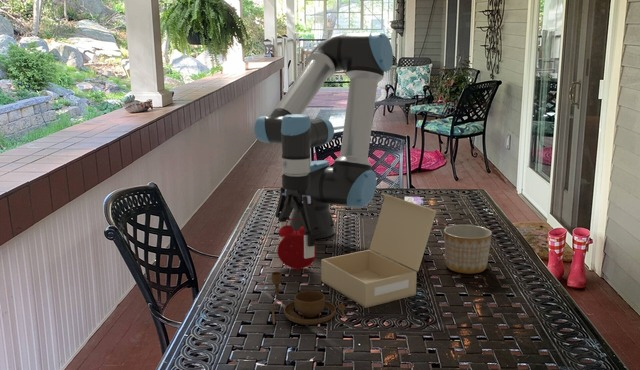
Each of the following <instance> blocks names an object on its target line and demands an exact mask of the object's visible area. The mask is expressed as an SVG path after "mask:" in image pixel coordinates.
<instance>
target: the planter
mask: <svg viewBox="0 0 640 370" xmlns="http://www.w3.org/2000/svg"><path fill="white" fill-rule="evenodd" d="M492 235H493V233H492V231H491V230H490V229H488V228H486V227H484V226H480V225H479V226H478V225H474V224H472V225H471V224H453V225H448V226H446V227H445V228H444V229H443V237H444V238H443V239H444V256H445V265H446V267H447V269H448V270H451V271H453V272H455V273H458V274H459V273H460V274H466V275H467V274H468V275H469V274H471V275H473V274H479V273H482V272H484V271H485V270H486V269H487V267H488V263H489V261H488V260H489V254H490V248H491V243H492V241H491V240H492Z"/></svg>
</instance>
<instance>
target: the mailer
mask: <svg viewBox="0 0 640 370" xmlns="http://www.w3.org/2000/svg"><path fill="white" fill-rule="evenodd" d="M320 270H321V272H320V273H321V277H320V278H321V282H322V283H323V284H324V285H327V286H328V287H330V288H331V289H333V290H335V291H336V292H338V293H340V294H341V295H344V296H345V297H347V298H349V299H350V300H352V301H353V302H355V303H356V304H358V305H360V306H362V307H363V308H364V309H367V308H370V307H375V306H379V305H383V304H386V303H390V302H395V301H398V300H401V299H405V298H411V297H414V296H417V272H418V271H416V270H413V269H411V268H409V267H407V266H405V265H403V264H401V263H398V262H396V261H394V260H392V259H390V258H388V257H386V256H383V255H381V254H379V253H377V252H375V251H373V250H371V249H366V250H361V251H355V252H351V253H347V254H342V255H338V256H337V255H335V256H332V257H326V258H322V259H321V269H320Z"/></svg>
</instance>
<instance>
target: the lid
mask: <svg viewBox="0 0 640 370" xmlns="http://www.w3.org/2000/svg"><path fill="white" fill-rule="evenodd" d="M380 195H381V196H384V198H383V201H382V202H383V203H382V205H381V209H380V212H379V215H378V219H377V222H376V225H375V229H374V232H373V235H372V239H371V241H370V246H369V249H368V250H371V251H373V252H375V253H378V254H380V255H382V256H384V257H386V258H388V259H390V260H392V261H395V262H397V263H399V264H401V265H403V266H405V267H407V268H410V269H412V270H414V271H416V272H419V271H420V268H421V264H422V260H423V257H424V253H425V251H426V248H427V244H428V241H429V237H430V234H431V230H432V227H433V225H434V220H435V219H436V217H435V216H436V215H437V210H435V209H432V208H430V207H426V206H424V205H423V206H421V205H417V204H414V203H411V202H408V201H405V200H404V199H402V198H399V197H396V196H394V195H390V194H387V193H384V192H381V194H380Z"/></svg>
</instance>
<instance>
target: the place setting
mask: <svg viewBox="0 0 640 370" xmlns="http://www.w3.org/2000/svg"><path fill="white" fill-rule="evenodd" d="M282 275H283V274H282V272H280V271H274V272H271V282H272V284H273V285H274V287H275V288H274V292H275V293H274V295H275V296H274V295H273V294H271V297H272V298H273V299H276V296H279V295H280V293H279V291H280V288H279V285H280V284H282V278H283V277H282ZM294 308H295V310H296V311H297V312H298V313H299V314H298V313H297V312H296V311H295V310H293V309H294ZM325 308H326V309H328V310H329V311H330V312H331V313H330V314H329V315H327V316H325V317H324V316H323V317H319V318H313V317H316V316H318V315H319V314H320V313H321V312H323V310H324V309H325ZM337 309H338V311H340V312H341V314H342V317H343V318H346V313H345V310H346V305H345V304H343V303H339V304H338V305H337V308H336V305H334V304H333V303H332V302H330V301H328V300H326V296H325V294H324V293H323V292H321V291H318V290H302V291H299V292H297V293H296V294H294V300H293V301H291V302H288V303H287V304H286V305H285V306H284V308H283V314H284V315H285V318H286V319H288V320H289V321H290V322H293V323H295V324H298V325H304V326H313V325H316V324H317V325H318V324H322V323H326V322H328V321H330V320H332V319H333V318H334V317H335V315H336V312H337ZM269 310H270V313H271V318H272V324H273V325H276V319H275V318H276V317H275V312H276V306H275V303H274V304H270V305H269ZM300 314H301V315H300ZM311 317H312V318H313V319H310V318H311ZM305 318H306V319H305ZM308 318H309V319H308Z"/></svg>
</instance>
